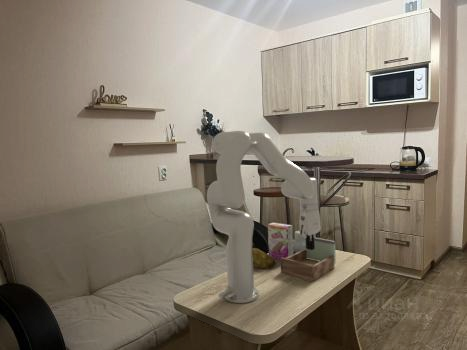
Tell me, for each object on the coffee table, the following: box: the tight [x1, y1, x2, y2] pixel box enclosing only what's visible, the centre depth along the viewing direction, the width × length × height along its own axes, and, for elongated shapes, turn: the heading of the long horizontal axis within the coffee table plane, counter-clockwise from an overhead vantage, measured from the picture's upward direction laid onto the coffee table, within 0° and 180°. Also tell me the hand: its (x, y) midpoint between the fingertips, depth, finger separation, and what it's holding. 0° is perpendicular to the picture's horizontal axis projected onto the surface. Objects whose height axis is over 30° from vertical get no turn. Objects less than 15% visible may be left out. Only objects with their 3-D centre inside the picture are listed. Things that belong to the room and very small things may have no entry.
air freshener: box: [293, 230, 305, 253], centre depth 171 cm, size 11×8×10 cm
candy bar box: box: [267, 222, 294, 261], centre depth 162 cm, size 11×5×16 cm, turn 50°
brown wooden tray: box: [279, 249, 335, 283], centre depth 147 cm, size 18×15×6 cm
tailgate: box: [305, 236, 337, 265], centre depth 153 cm, size 1×15×10 cm, turn 46°
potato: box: [252, 247, 276, 269], centre depth 154 cm, size 8×13×8 cm, turn 50°
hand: (310, 248), depth 148 cm, fingers closed
